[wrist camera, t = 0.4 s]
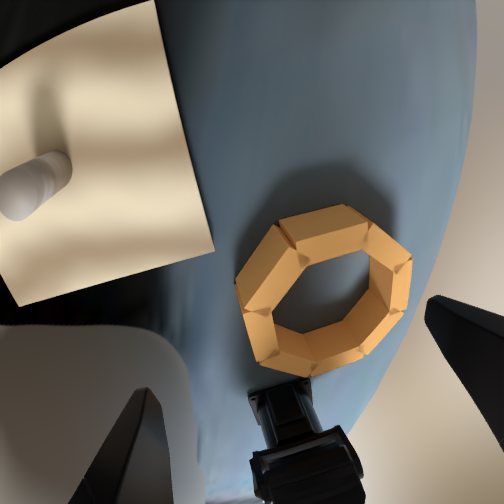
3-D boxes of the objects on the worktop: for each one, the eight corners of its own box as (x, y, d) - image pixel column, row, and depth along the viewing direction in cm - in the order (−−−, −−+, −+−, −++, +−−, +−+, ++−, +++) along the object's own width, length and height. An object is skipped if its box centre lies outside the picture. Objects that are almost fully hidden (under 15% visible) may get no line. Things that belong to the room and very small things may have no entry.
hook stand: (213, 243, 20) (225, 299, 15) (24, 297, 19) (-7, 352, 13) (155, 6, 13) (142, -38, 7) (-45, 109, 11) (-102, 122, 6)
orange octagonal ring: (382, 318, 27) (400, 341, 24) (256, 362, 26) (265, 391, 23) (387, 193, 21) (416, 208, 18) (220, 235, 20) (227, 260, 17)
